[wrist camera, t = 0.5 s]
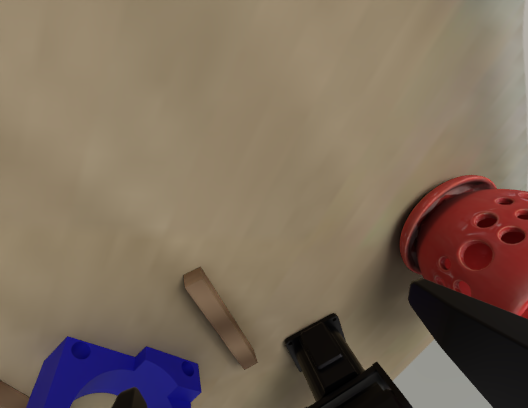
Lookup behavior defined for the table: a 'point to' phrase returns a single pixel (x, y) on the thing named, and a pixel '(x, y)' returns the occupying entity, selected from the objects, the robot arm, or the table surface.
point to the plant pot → (472, 241)
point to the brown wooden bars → (203, 293)
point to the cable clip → (114, 376)
